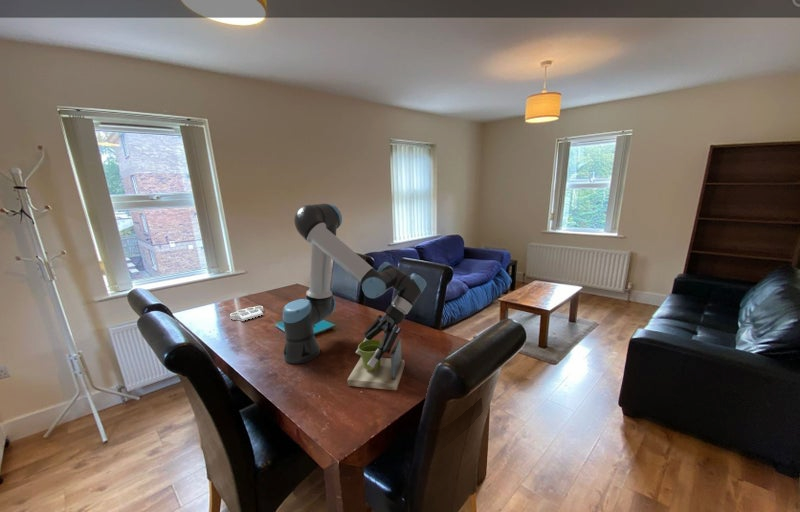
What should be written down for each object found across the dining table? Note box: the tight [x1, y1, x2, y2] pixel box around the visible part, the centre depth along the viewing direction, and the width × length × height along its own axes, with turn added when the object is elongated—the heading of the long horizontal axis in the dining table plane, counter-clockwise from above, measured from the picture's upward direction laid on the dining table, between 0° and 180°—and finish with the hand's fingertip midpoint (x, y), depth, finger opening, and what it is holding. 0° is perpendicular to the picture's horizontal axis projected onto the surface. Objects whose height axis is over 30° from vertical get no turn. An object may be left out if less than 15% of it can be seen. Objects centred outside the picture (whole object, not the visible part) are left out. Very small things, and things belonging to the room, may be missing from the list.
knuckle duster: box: [229, 305, 264, 322], centre depth 180 cm, size 3×18×15 cm
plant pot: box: [357, 339, 382, 370], centre depth 117 cm, size 9×9×9 cm
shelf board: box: [347, 356, 406, 391], centre depth 118 cm, size 18×16×2 cm
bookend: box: [390, 338, 402, 380], centre depth 115 cm, size 1×12×10 cm, turn 169°
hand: (364, 359), depth 115 cm, fingers closed on plant pot, 9 cm apart
